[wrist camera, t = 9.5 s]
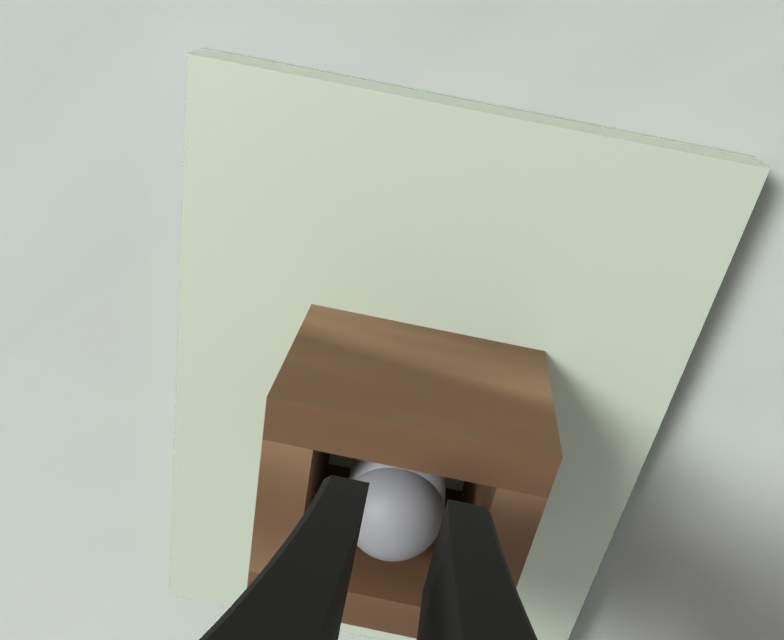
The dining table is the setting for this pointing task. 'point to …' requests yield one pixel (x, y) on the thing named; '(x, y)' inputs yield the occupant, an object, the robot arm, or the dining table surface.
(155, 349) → the dining table surface
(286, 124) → the board
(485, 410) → the collar
